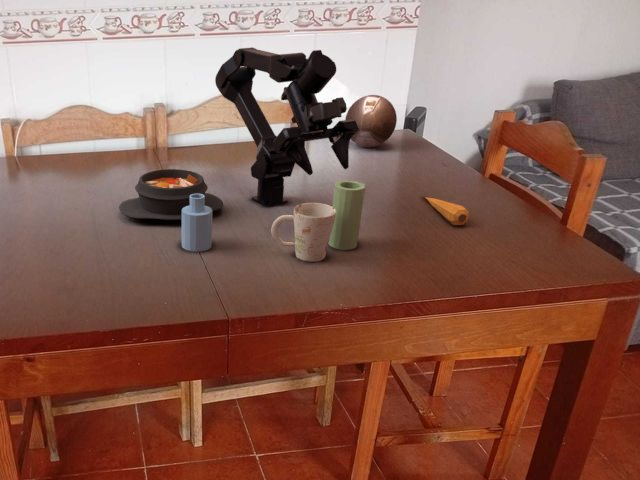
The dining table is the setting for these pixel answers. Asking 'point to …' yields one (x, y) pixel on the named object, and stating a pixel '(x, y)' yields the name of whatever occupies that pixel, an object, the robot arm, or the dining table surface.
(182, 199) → the casserole
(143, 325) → the dining table surface
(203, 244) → the bottle
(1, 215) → the dining table surface
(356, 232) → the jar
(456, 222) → the carrot
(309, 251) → the mug
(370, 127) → the bronze metallic sphere
